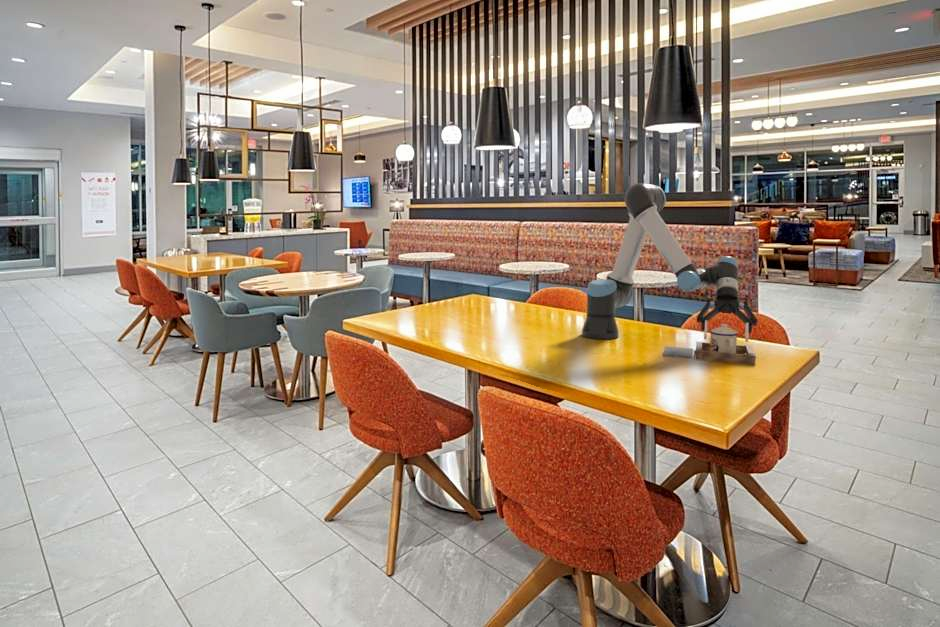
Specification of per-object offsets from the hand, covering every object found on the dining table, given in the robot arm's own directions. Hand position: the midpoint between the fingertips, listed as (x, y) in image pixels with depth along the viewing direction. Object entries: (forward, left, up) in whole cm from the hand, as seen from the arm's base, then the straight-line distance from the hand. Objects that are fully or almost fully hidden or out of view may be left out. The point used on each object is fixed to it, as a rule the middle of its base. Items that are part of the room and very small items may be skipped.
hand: (725, 338), depth 208 cm
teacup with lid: (0, +1, -7) cm, 7 cm away
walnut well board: (0, +1, -7) cm, 7 cm away
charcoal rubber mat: (-16, +1, -7) cm, 17 cm away
